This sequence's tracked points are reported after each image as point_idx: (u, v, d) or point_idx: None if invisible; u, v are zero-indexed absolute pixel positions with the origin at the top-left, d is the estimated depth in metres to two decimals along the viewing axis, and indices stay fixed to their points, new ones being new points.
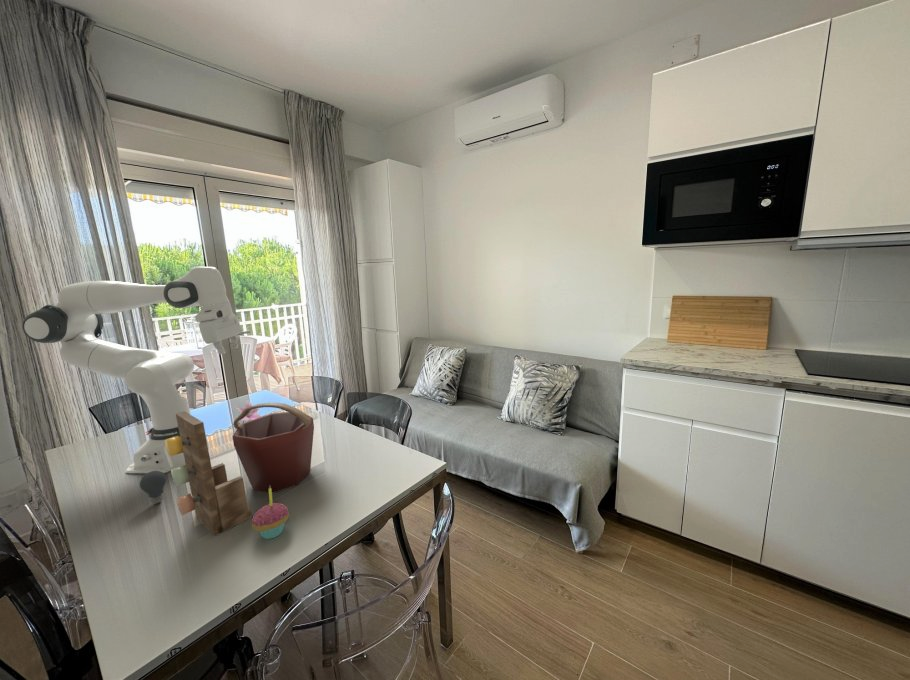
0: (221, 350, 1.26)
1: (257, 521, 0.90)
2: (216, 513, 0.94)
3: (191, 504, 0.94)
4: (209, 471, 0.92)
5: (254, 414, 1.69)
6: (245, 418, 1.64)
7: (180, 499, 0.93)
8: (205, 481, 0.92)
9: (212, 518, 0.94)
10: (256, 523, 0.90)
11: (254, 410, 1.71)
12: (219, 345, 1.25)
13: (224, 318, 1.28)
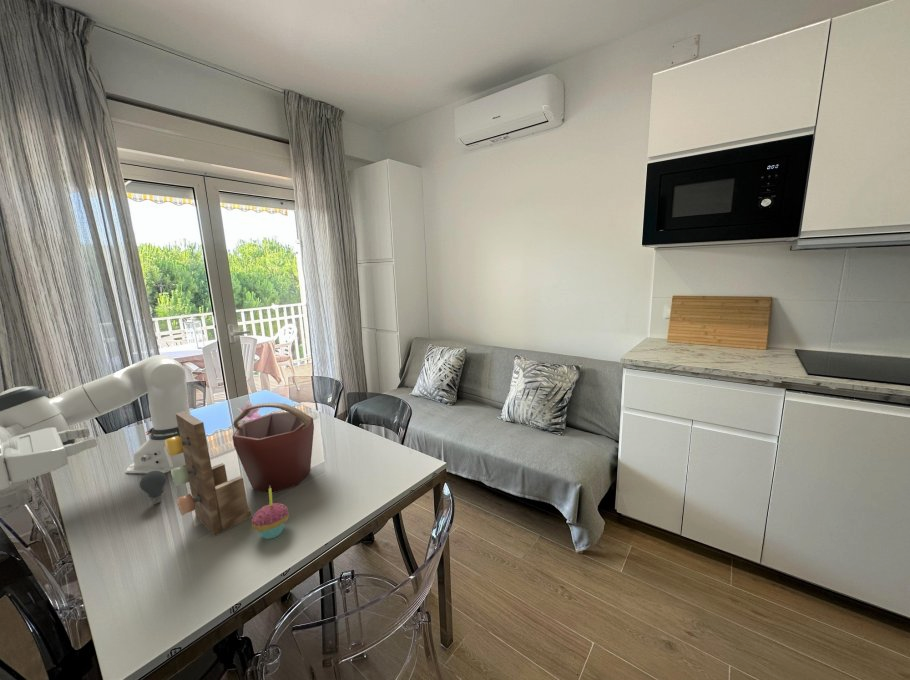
0: (88, 443, 0.76)
1: (257, 521, 0.90)
2: (216, 513, 0.94)
3: (191, 504, 0.94)
4: (209, 471, 0.92)
5: (255, 414, 1.70)
6: (246, 418, 1.64)
7: (180, 499, 0.93)
8: (205, 481, 0.92)
9: (212, 518, 0.94)
10: (256, 523, 0.90)
11: (255, 410, 1.71)
12: (74, 446, 0.74)
13: (7, 447, 0.70)
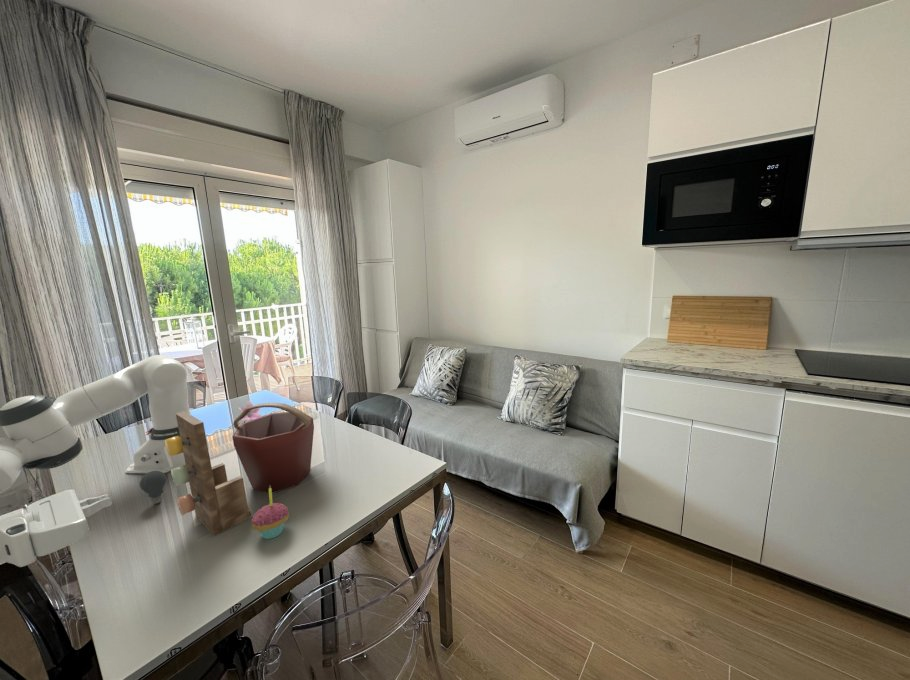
0: (104, 502, 0.81)
1: (257, 521, 0.90)
2: (216, 513, 0.94)
3: (191, 504, 0.94)
4: (209, 471, 0.92)
5: (255, 414, 1.70)
6: (246, 418, 1.64)
7: (180, 499, 0.93)
8: (205, 481, 0.92)
9: (212, 518, 0.94)
10: (256, 523, 0.90)
11: (255, 410, 1.71)
12: (91, 507, 0.79)
13: (30, 519, 0.73)
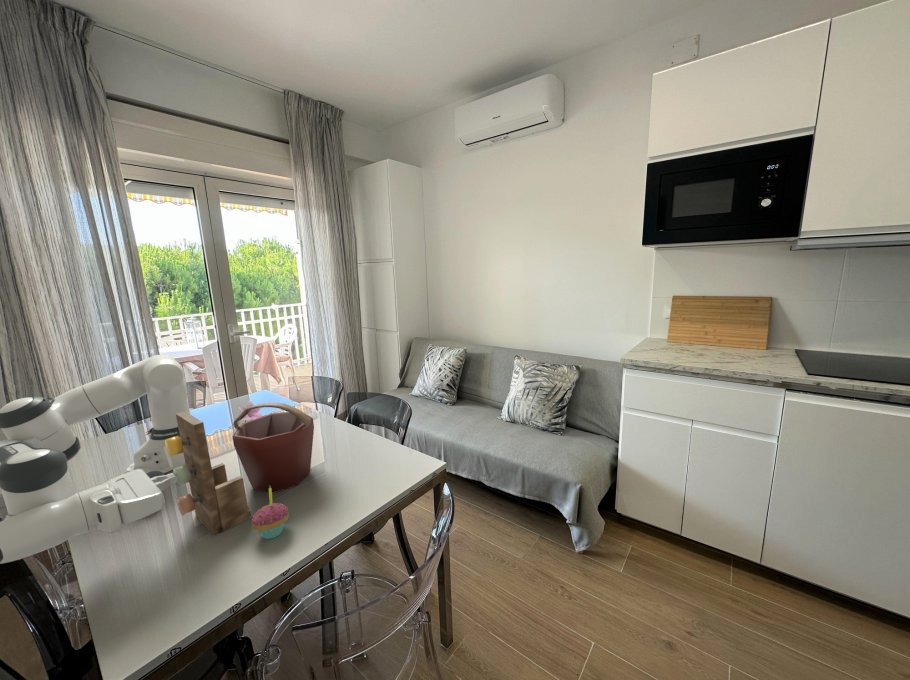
0: (172, 480, 0.91)
1: (257, 521, 0.90)
2: (216, 513, 0.94)
3: (191, 504, 0.94)
4: (209, 471, 0.92)
5: (256, 414, 1.70)
6: (247, 418, 1.64)
7: (180, 499, 0.93)
8: (205, 481, 0.92)
9: (212, 518, 0.94)
10: (256, 523, 0.90)
11: (256, 410, 1.71)
12: (163, 483, 0.89)
13: (114, 492, 0.82)
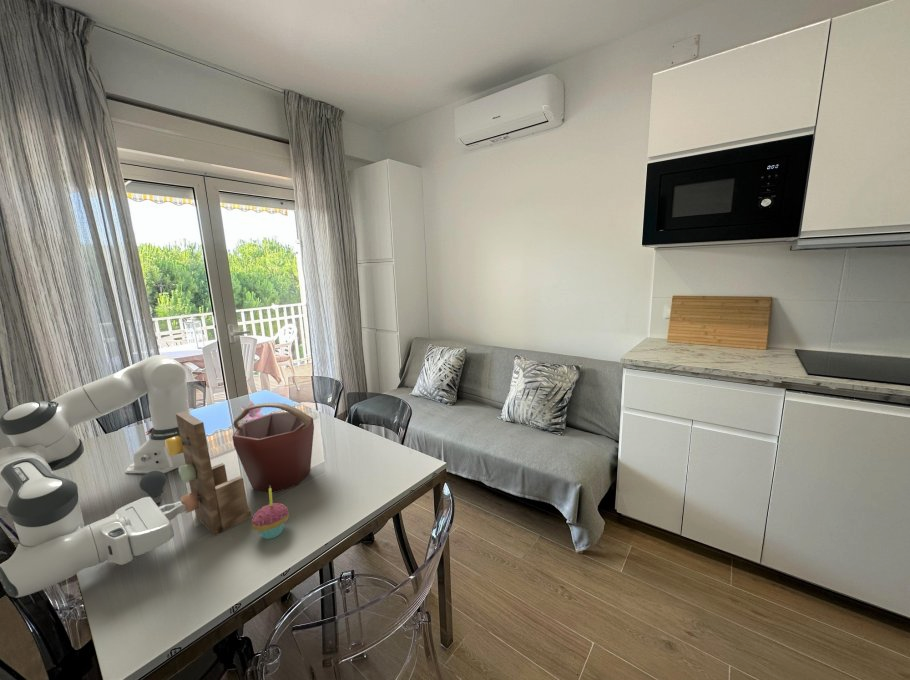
0: (180, 508, 0.93)
1: (257, 521, 0.90)
2: (216, 513, 0.94)
3: (195, 502, 0.95)
4: (209, 471, 0.92)
5: (257, 413, 1.70)
6: (249, 417, 1.64)
7: (184, 497, 0.94)
8: (205, 481, 0.92)
9: (212, 518, 0.94)
10: (256, 523, 0.90)
11: (257, 409, 1.71)
12: (171, 512, 0.91)
13: (124, 524, 0.84)
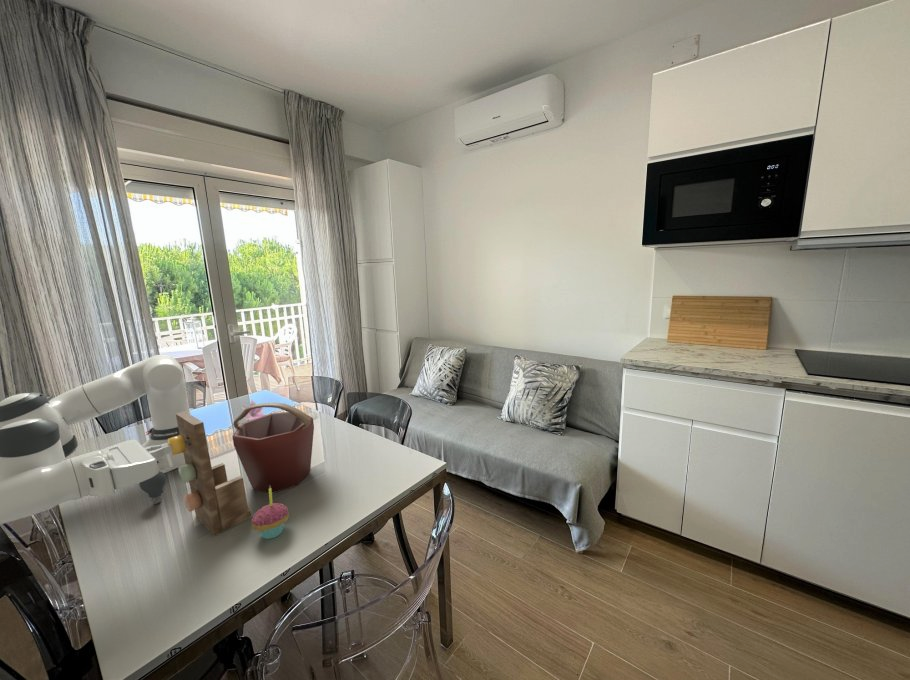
0: (166, 449, 0.90)
1: (257, 521, 0.90)
2: (216, 513, 0.94)
3: (198, 501, 0.95)
4: (209, 471, 0.92)
5: (258, 413, 1.70)
6: (250, 417, 1.64)
7: (187, 496, 0.95)
8: (205, 481, 0.92)
9: (212, 518, 0.94)
10: (256, 523, 0.90)
11: (258, 409, 1.72)
12: (156, 452, 0.87)
13: (107, 459, 0.81)
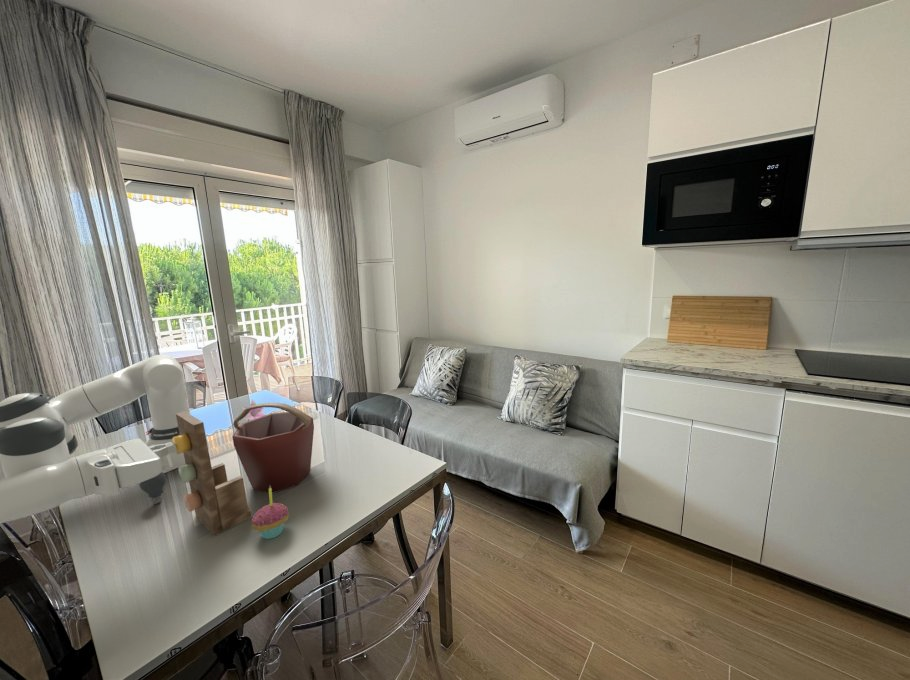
0: (170, 448, 0.90)
1: (257, 521, 0.90)
2: (216, 513, 0.94)
3: (198, 501, 0.95)
4: (209, 471, 0.92)
5: (259, 413, 1.70)
6: (251, 417, 1.65)
7: (187, 496, 0.95)
8: (205, 481, 0.92)
9: (212, 518, 0.94)
10: (256, 522, 0.90)
11: (259, 409, 1.72)
12: (161, 451, 0.88)
13: (111, 458, 0.82)
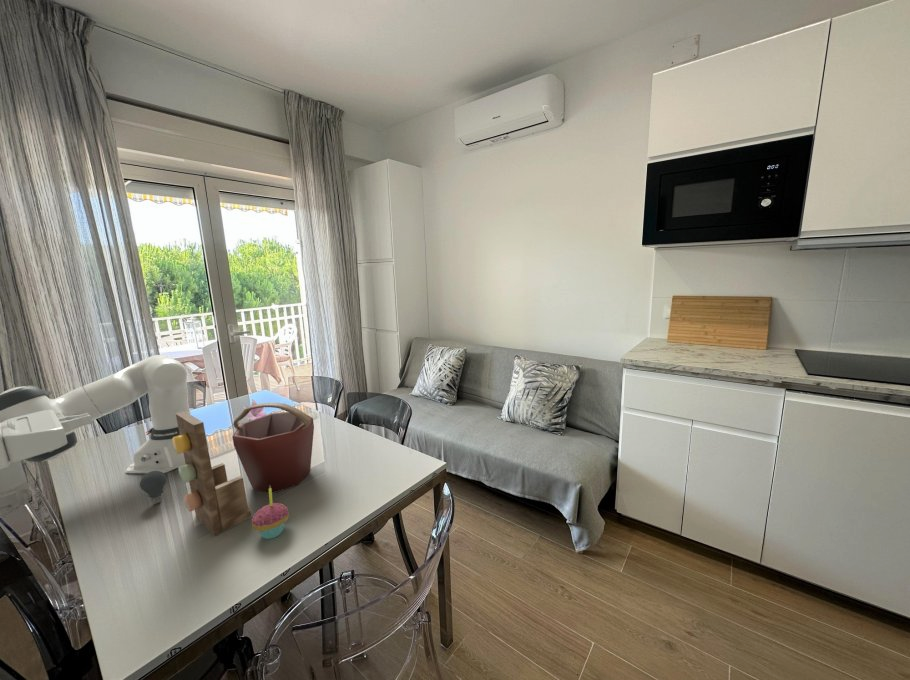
0: (84, 420, 0.78)
1: (257, 521, 0.90)
2: (216, 513, 0.94)
3: (198, 501, 0.95)
4: (209, 471, 0.92)
5: (260, 413, 1.71)
6: (252, 417, 1.65)
7: (187, 496, 0.95)
8: (205, 481, 0.92)
9: (212, 518, 0.94)
10: (256, 523, 0.90)
11: (260, 409, 1.72)
12: (71, 422, 0.76)
13: (5, 427, 0.70)
